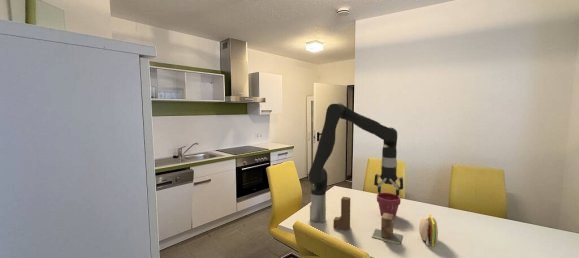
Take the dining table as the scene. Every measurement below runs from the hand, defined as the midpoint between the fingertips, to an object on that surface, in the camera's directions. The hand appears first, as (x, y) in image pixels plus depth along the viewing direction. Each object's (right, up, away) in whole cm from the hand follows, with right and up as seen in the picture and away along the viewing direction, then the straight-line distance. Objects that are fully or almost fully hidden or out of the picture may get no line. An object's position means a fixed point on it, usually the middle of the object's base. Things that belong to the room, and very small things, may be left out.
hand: (388, 194), depth 129 cm
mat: (0, -23, +2) cm, 24 cm away
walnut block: (0, -23, +2) cm, 23 cm away
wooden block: (-22, -23, +13) cm, 35 cm away
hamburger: (+20, -24, -2) cm, 31 cm away
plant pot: (+11, -21, +28) cm, 37 cm away
